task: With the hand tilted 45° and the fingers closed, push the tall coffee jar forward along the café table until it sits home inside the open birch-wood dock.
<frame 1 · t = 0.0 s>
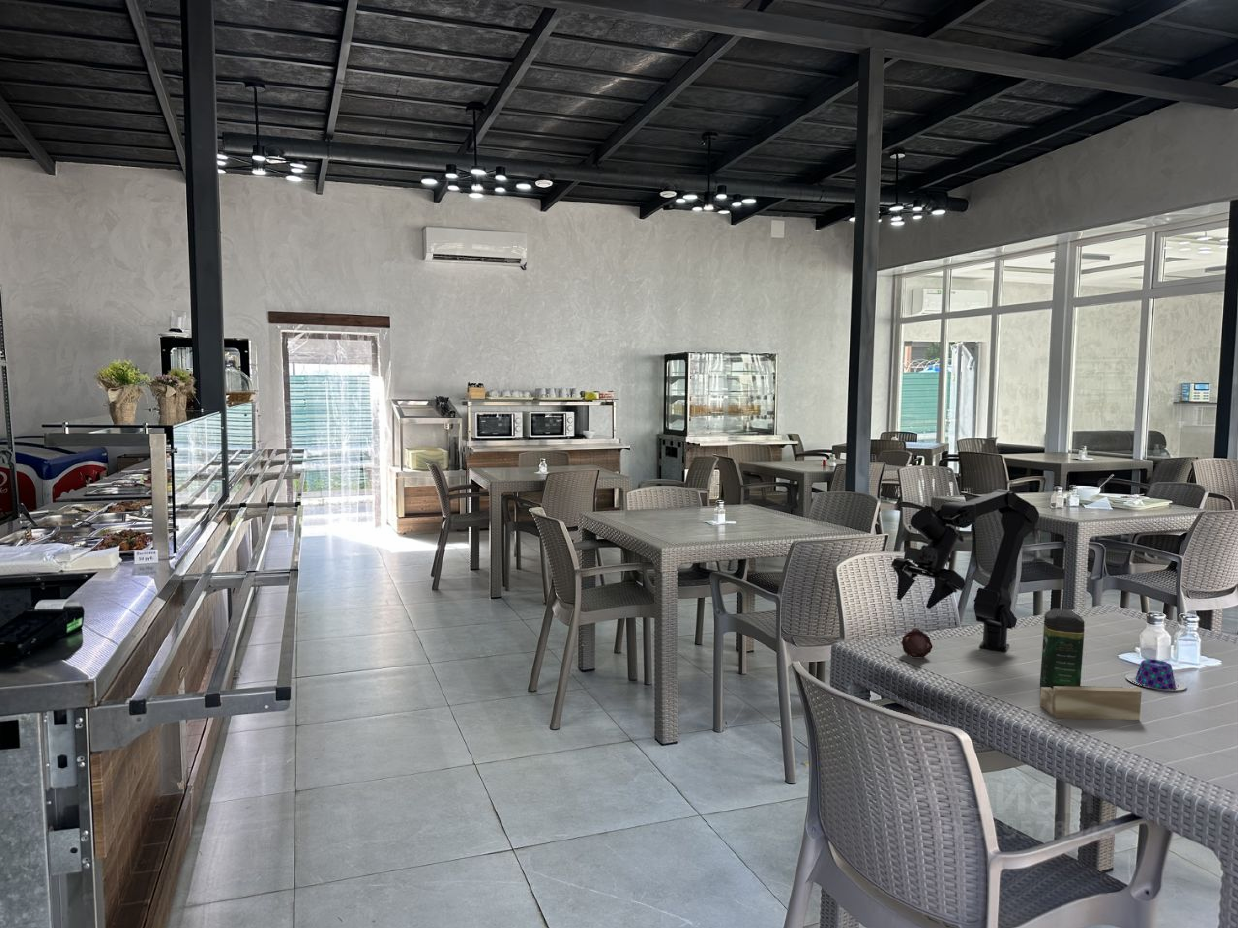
hand: (912, 603, 204), 15 cm above the table, tool tilted 35°, fingers open, 9 cm apart
coffee jar: (1059, 693, 187), on the table
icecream: (916, 657, 211), on the table
purple patterned hat: (1155, 685, 194), on the table
dock: (1076, 703, 180), on the table
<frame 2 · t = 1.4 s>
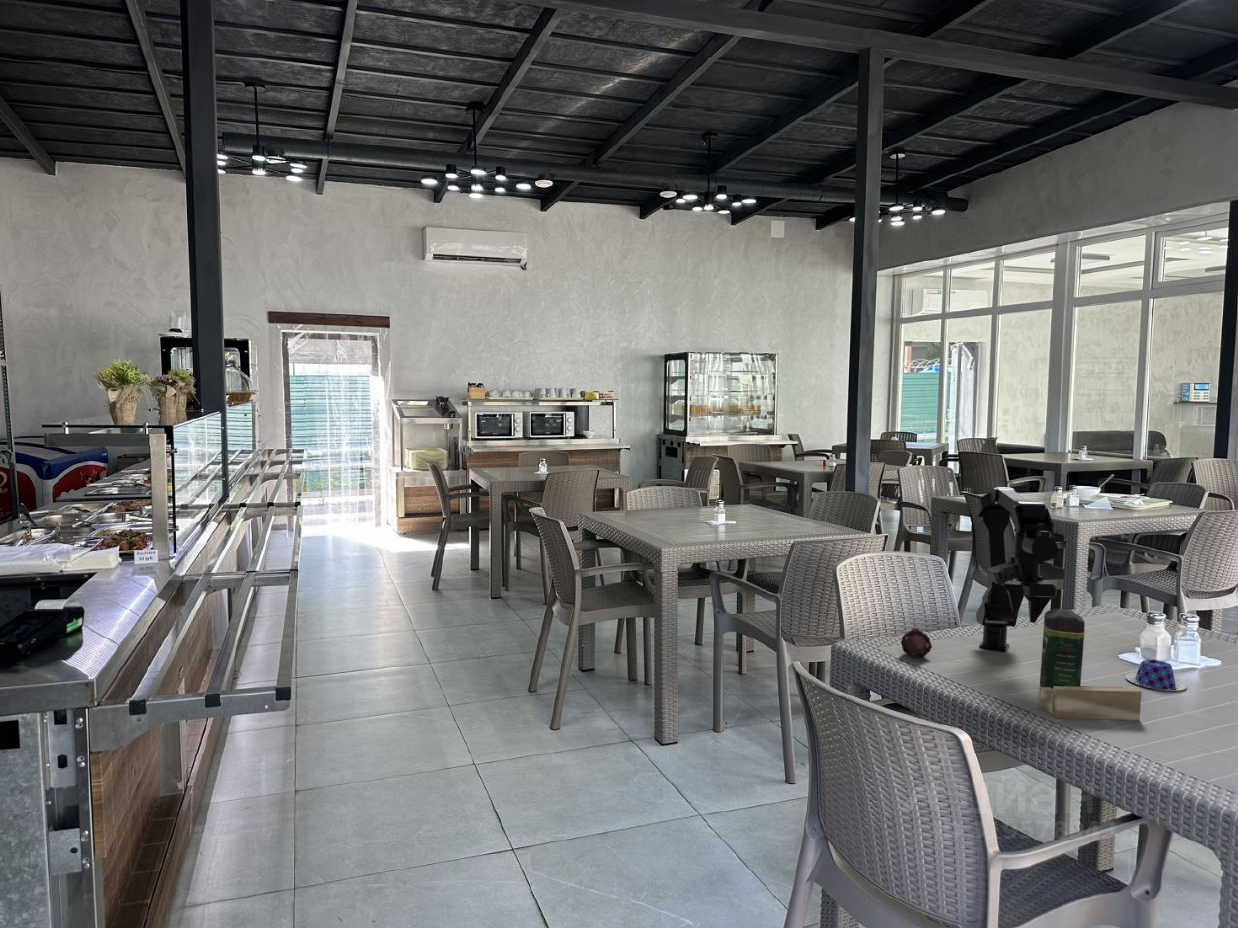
hand: (1023, 617, 201), 13 cm above the table, tool pointing down, fingers open, 9 cm apart
nothing on the table moved.
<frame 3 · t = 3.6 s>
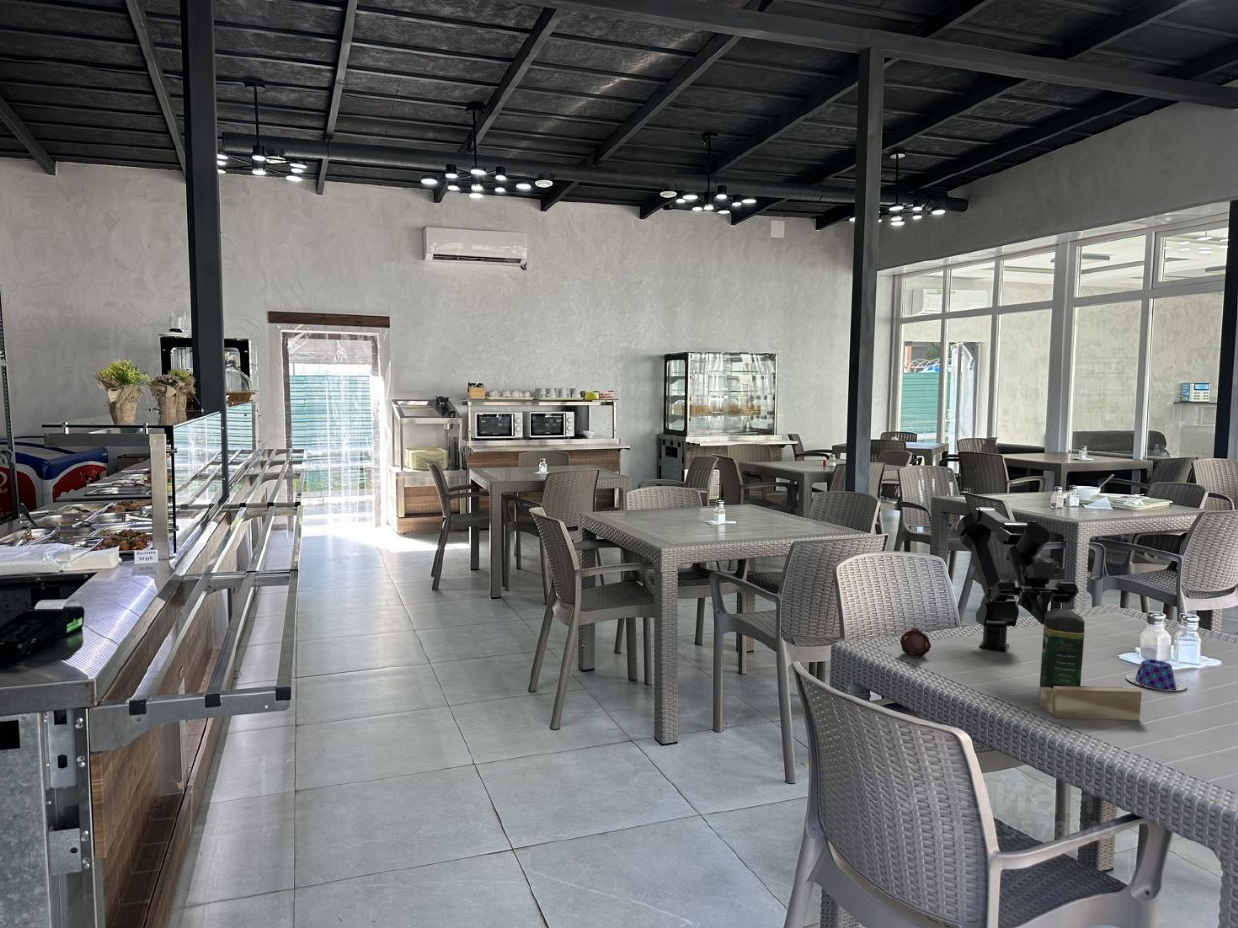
hand: (1044, 623, 194), 13 cm above the table, tool tilted 45°, fingers closed
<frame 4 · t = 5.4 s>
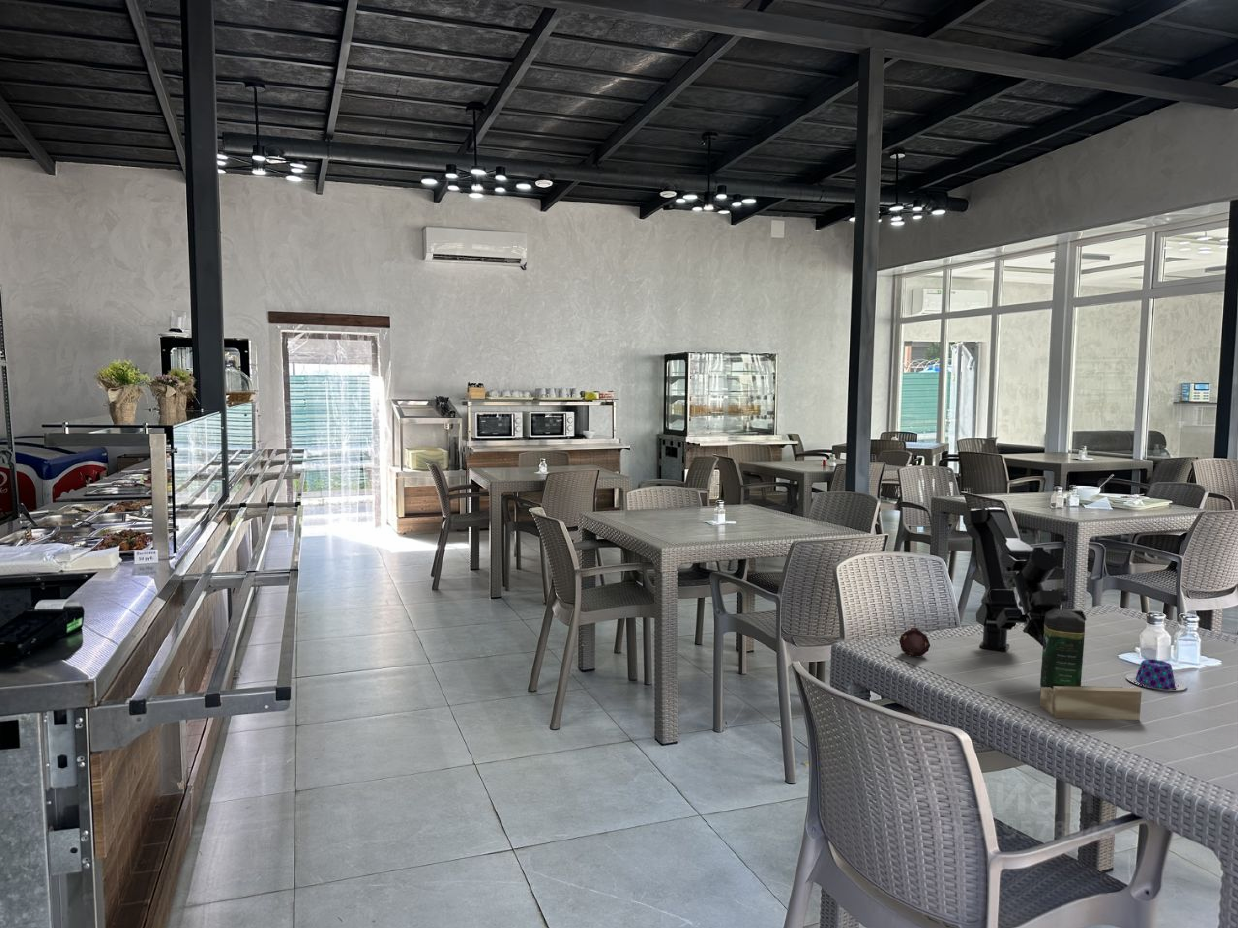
hand: (1051, 652, 190), 8 cm above the table, tool tilted 45°, fingers closed, pressing on coffee jar
coffee jar: (1059, 693, 187), on the table, touching gripper
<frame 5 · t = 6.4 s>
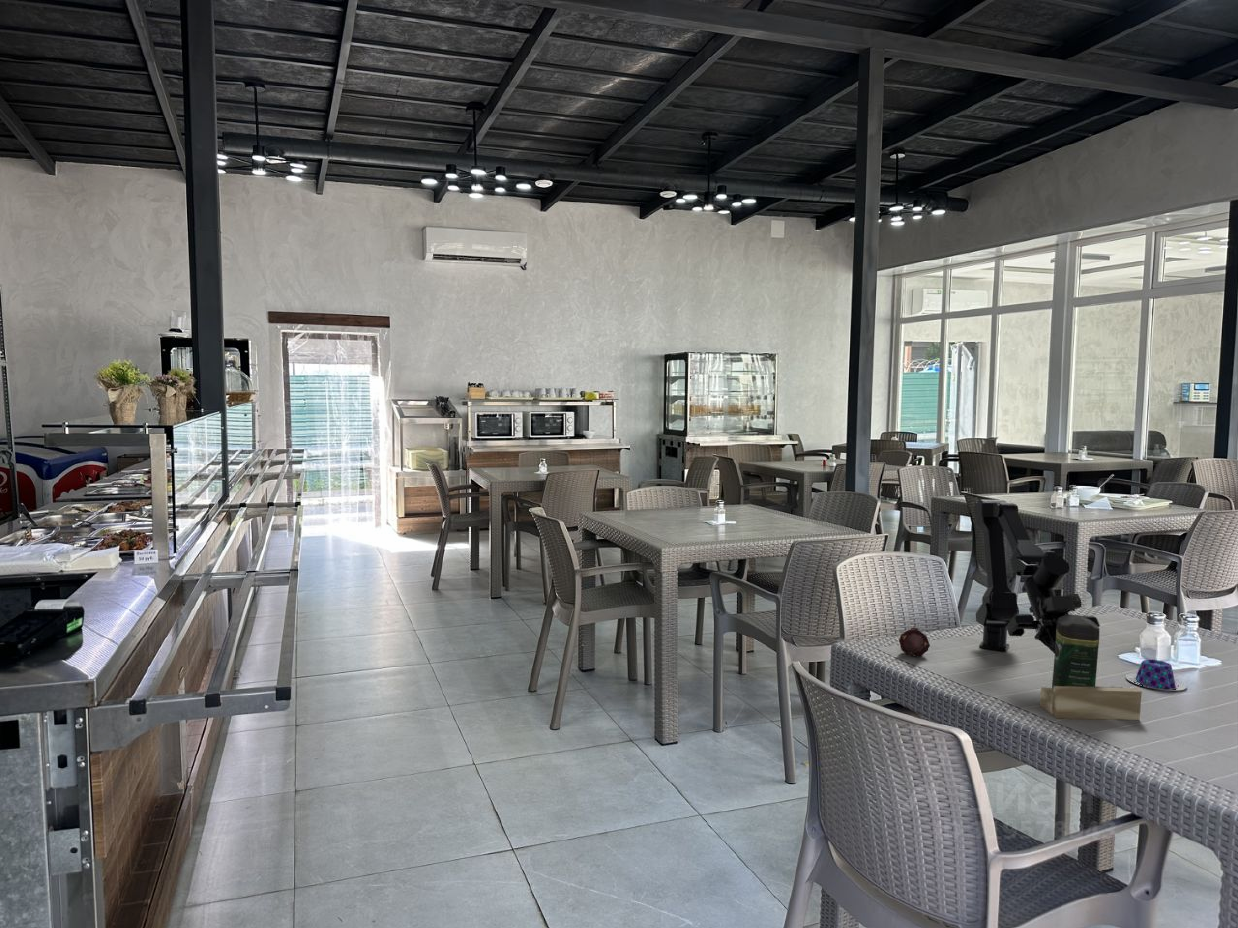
hand: (1064, 659, 185), 8 cm above the table, tool tilted 45°, fingers closed, pressing on coffee jar
coffee jar: (1072, 701, 181), on the table, touching gripper
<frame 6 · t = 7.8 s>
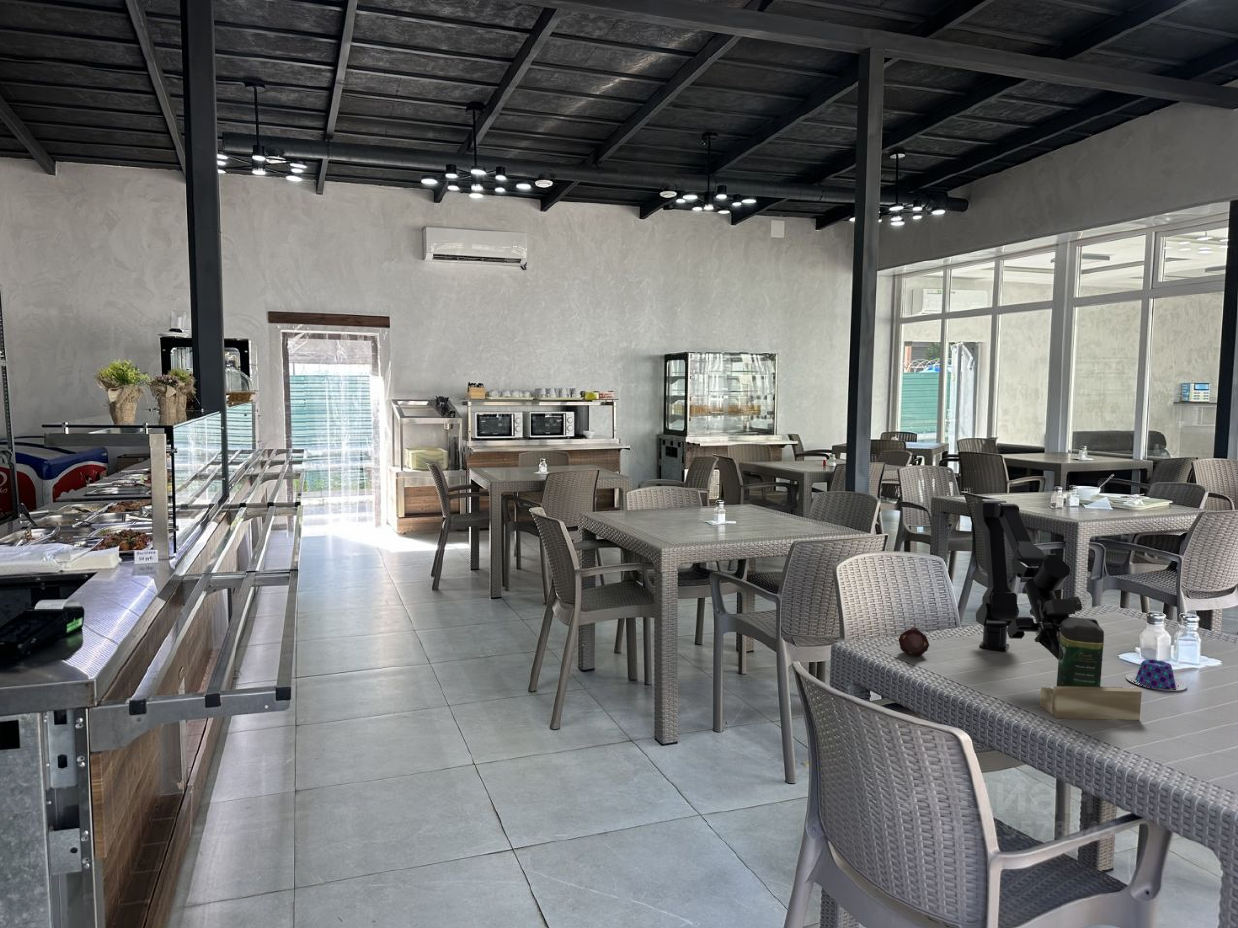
hand: (1064, 662, 185), 7 cm above the table, tool tilted 45°, fingers closed
coffee jar: (1076, 705, 179), on the table
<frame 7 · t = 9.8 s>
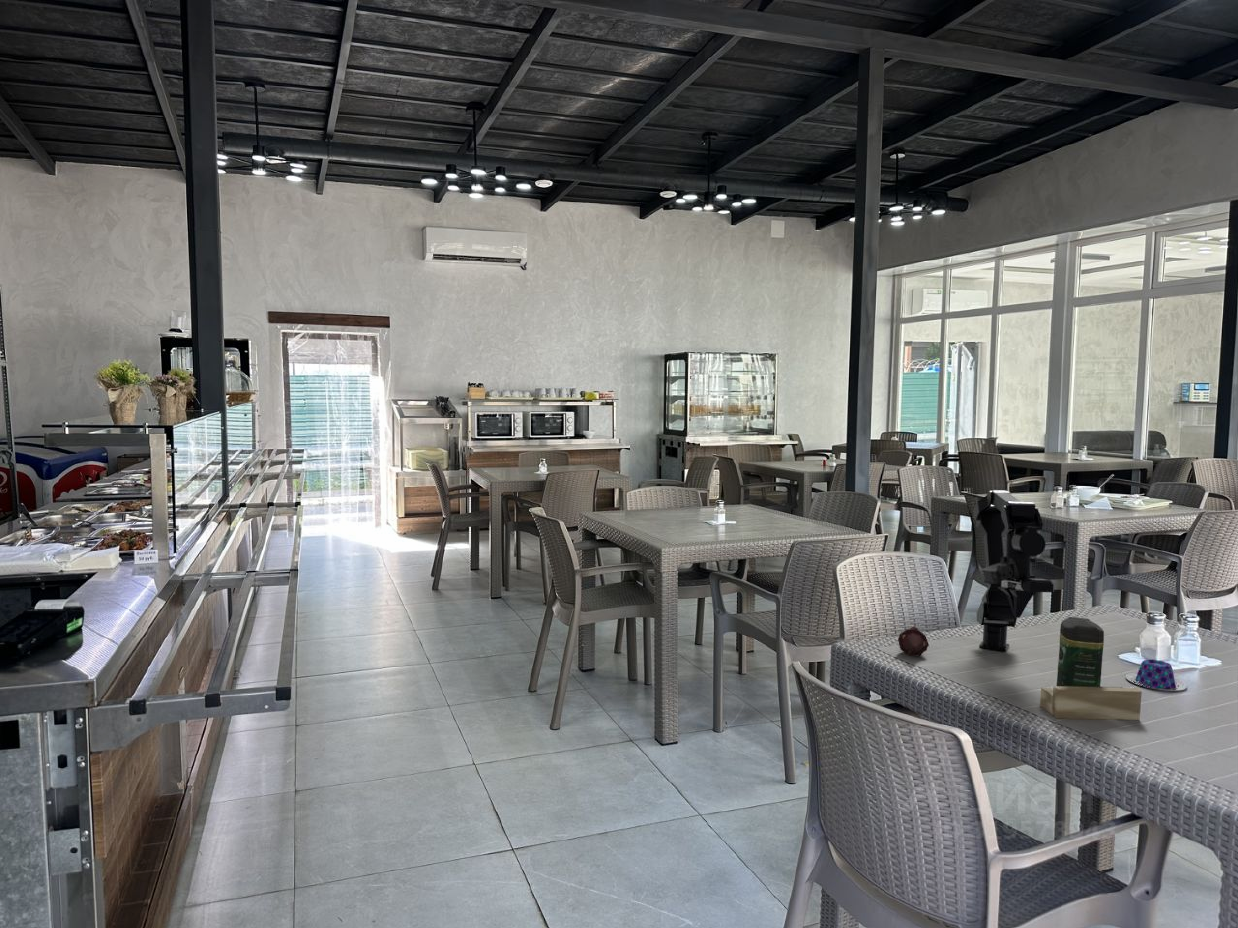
hand: (1016, 617, 202), 13 cm above the table, tool pointing down, fingers closed
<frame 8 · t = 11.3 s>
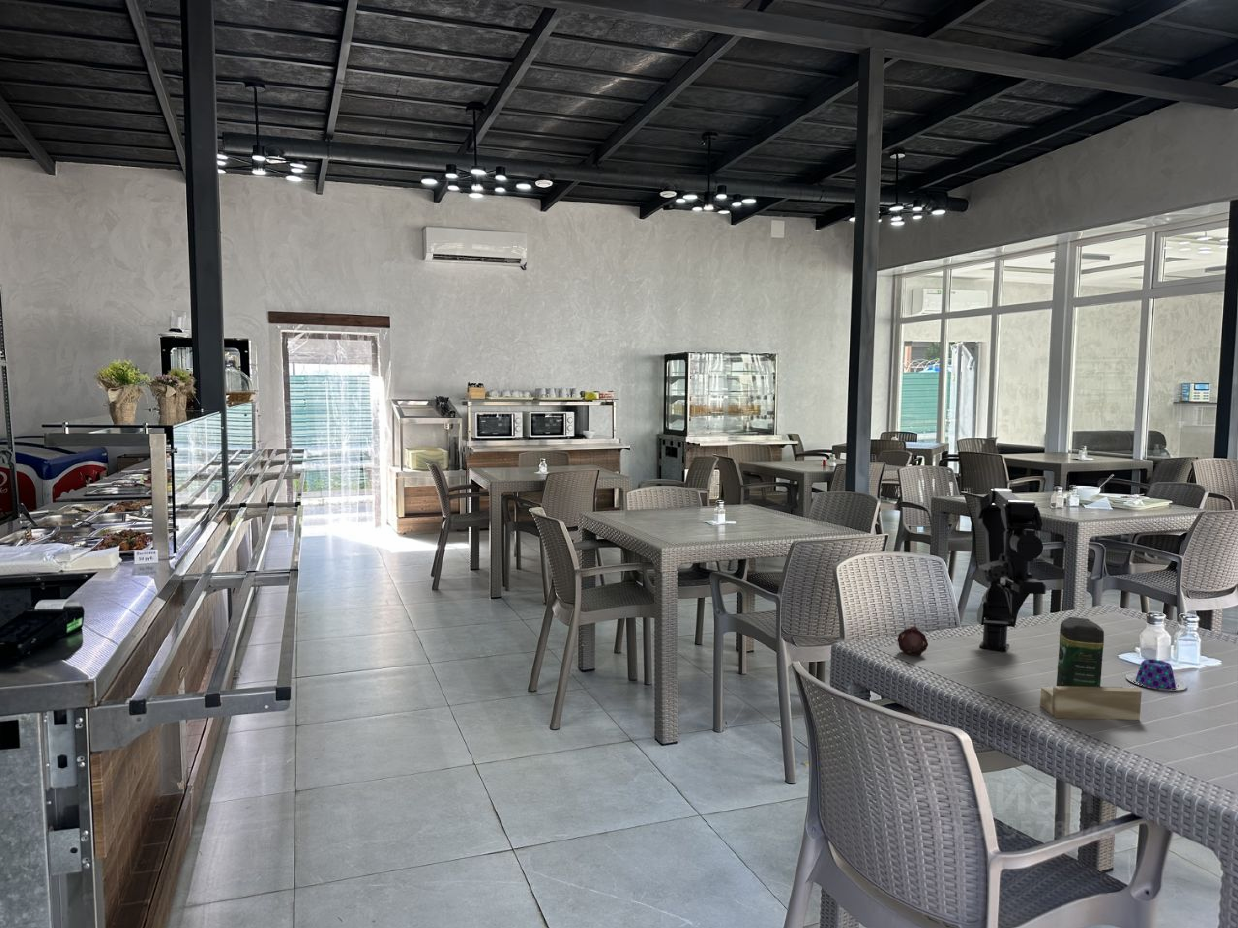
hand: (1013, 614, 203), 13 cm above the table, tool pointing down, fingers closed
at the end: coffee jar inside the target area on the dock (0.4 cm from its centre), point 0.0 cm above the dock's base; coffee jar tilted 0°; coffee jar moved 7.4 cm from its start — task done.
